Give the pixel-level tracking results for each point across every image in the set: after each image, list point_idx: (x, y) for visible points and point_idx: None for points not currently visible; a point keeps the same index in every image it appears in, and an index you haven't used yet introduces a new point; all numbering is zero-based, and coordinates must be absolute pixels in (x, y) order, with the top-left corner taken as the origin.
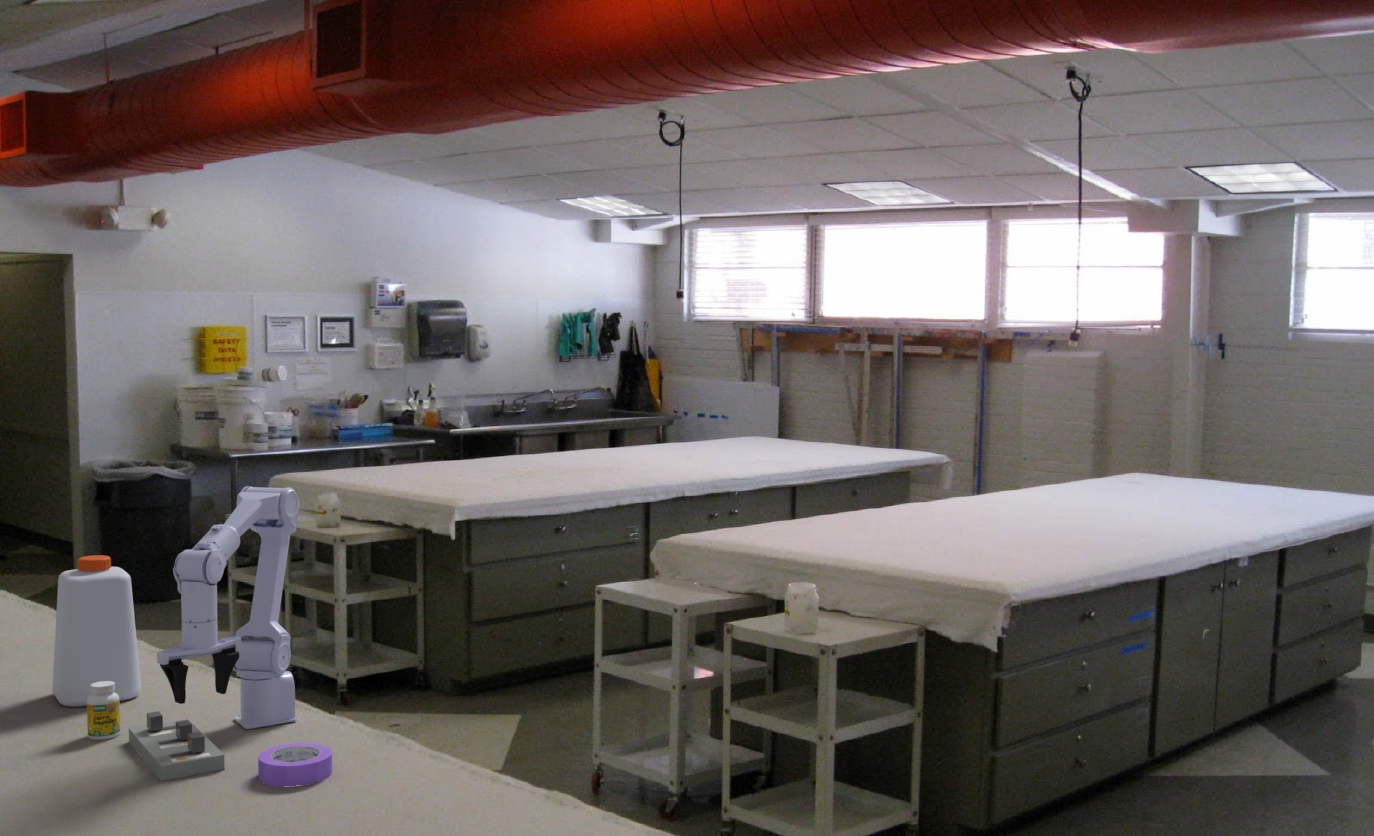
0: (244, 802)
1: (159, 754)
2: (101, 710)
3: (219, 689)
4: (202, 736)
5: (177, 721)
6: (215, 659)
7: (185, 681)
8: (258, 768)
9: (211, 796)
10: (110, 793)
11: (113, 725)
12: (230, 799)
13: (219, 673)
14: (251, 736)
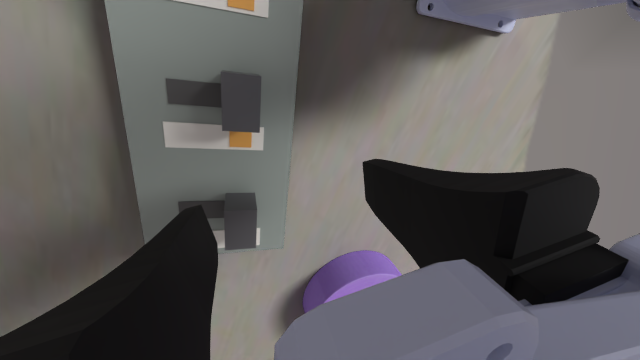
0: (256, 355)
1: (154, 182)
2: None
3: (369, 189)
4: (251, 246)
5: (227, 73)
6: (462, 219)
7: (208, 340)
8: (309, 301)
9: (222, 327)
10: (36, 261)
11: None
12: (243, 343)
13: (410, 213)
14: (399, 68)
